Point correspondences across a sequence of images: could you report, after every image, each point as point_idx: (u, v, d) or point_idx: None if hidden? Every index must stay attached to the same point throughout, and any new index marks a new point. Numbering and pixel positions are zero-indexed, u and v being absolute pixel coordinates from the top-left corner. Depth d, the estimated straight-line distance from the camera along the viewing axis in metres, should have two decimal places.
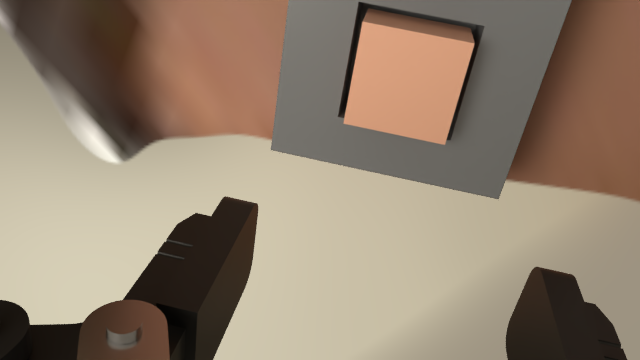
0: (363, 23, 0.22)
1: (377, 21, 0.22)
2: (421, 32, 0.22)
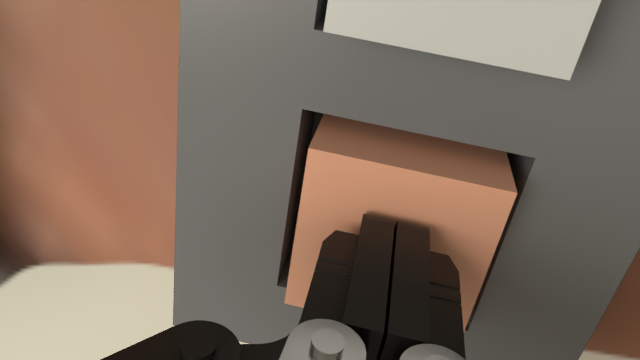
0: (310, 151, 0.12)
1: (337, 143, 0.12)
2: (417, 169, 0.12)
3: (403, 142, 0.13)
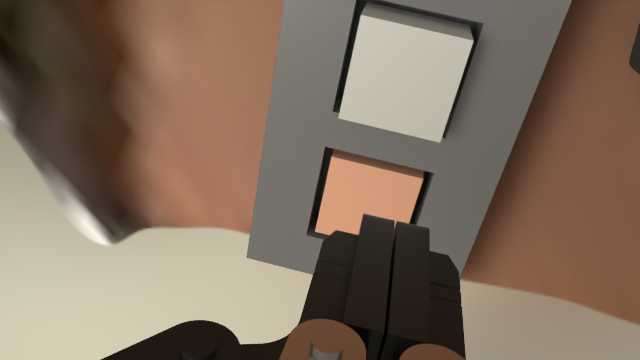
0: (332, 158, 0.26)
1: (344, 154, 0.27)
2: (380, 167, 0.26)
3: None
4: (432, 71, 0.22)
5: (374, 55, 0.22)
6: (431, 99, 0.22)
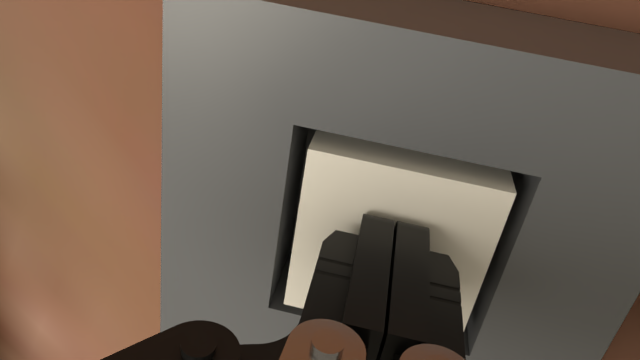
0: None
1: None
2: None
3: None
4: None
5: None
6: None
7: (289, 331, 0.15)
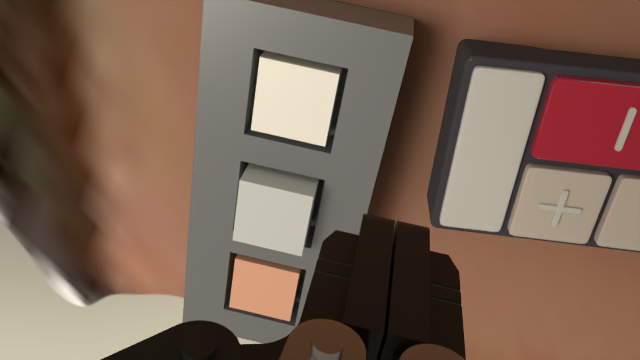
0: (235, 259, 0.37)
1: None
2: (269, 265, 0.37)
3: None
4: (290, 214, 0.33)
5: (251, 203, 0.33)
6: (292, 230, 0.33)
7: (253, 145, 0.33)
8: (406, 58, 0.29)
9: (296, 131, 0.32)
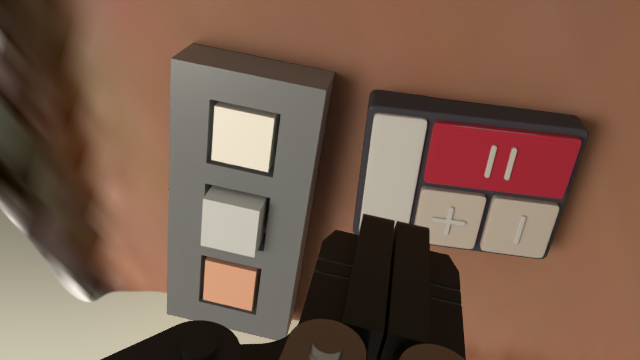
0: (205, 261, 0.46)
1: None
2: (232, 265, 0.46)
3: None
4: (243, 224, 0.42)
5: (213, 216, 0.42)
6: (245, 237, 0.43)
7: (213, 172, 0.42)
8: (322, 106, 0.38)
9: (245, 160, 0.41)
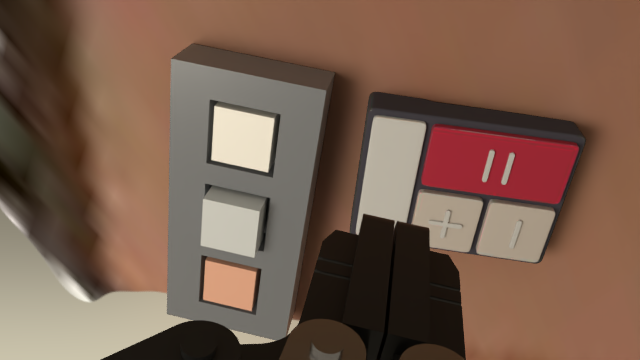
0: (205, 261, 0.46)
1: (213, 258, 0.47)
2: (232, 265, 0.46)
3: None
4: (243, 224, 0.42)
5: (213, 216, 0.42)
6: (245, 237, 0.43)
7: (213, 172, 0.42)
8: (322, 106, 0.38)
9: (245, 160, 0.41)
